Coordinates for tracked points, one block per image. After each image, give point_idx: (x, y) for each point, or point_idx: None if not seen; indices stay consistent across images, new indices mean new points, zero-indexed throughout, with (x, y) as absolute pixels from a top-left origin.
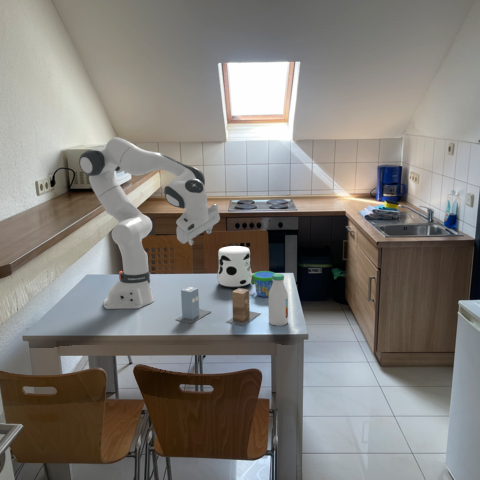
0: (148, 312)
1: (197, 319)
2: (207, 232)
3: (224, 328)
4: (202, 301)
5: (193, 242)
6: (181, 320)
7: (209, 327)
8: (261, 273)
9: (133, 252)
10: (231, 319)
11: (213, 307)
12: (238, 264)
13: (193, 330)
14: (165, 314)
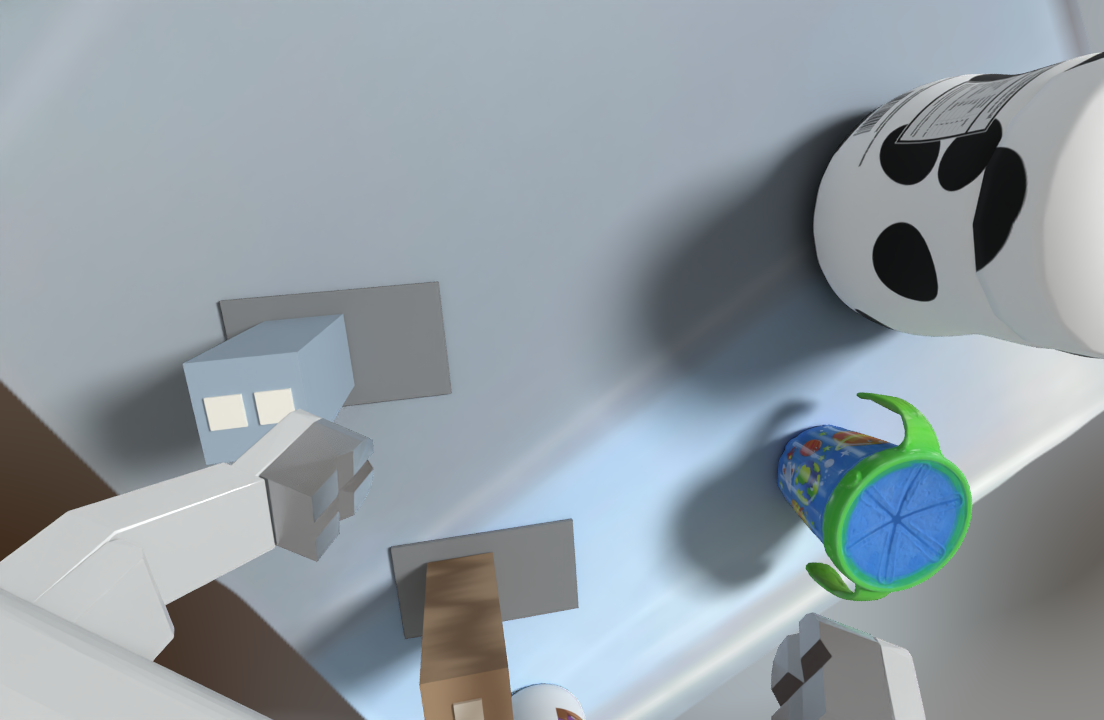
0: (181, 34)
1: None
2: (801, 657)
3: (323, 588)
4: (557, 230)
5: (328, 532)
6: None
7: None
8: (926, 484)
9: None
10: (429, 551)
11: (517, 354)
12: (971, 318)
13: None
14: (241, 173)
